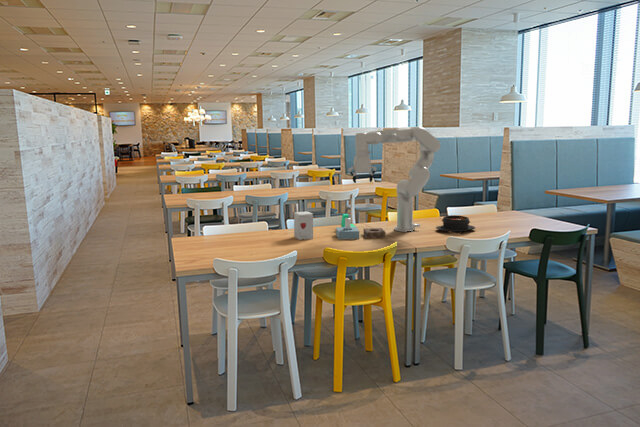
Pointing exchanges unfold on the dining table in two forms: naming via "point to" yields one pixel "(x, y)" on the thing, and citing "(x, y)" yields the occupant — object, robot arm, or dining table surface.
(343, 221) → the camera mount
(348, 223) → the steel pin
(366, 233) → the walnut mount block
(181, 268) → the dining table surface
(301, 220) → the supplement box
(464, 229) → the casserole
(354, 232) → the socket block
